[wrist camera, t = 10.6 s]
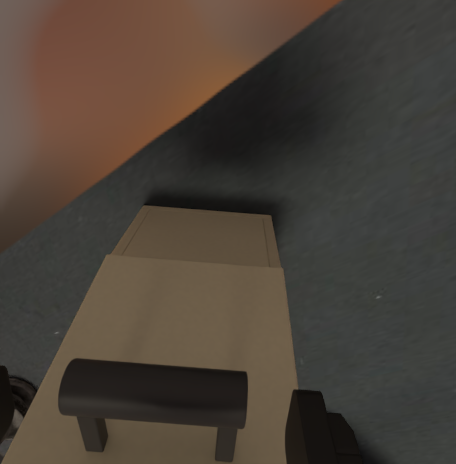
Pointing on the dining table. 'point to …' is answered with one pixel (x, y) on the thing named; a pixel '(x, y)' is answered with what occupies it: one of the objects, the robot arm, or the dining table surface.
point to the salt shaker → (19, 405)
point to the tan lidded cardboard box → (201, 237)
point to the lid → (168, 369)
